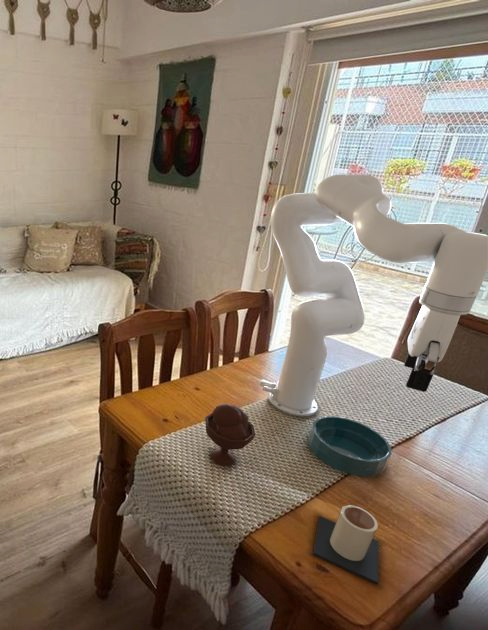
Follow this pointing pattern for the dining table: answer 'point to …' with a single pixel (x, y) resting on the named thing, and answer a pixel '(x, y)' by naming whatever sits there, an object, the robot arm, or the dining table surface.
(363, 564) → the slate coaster
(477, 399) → the dining table surface
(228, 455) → the ice cream bowl
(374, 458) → the teal bowl
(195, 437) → the dining table surface
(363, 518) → the cream cup
